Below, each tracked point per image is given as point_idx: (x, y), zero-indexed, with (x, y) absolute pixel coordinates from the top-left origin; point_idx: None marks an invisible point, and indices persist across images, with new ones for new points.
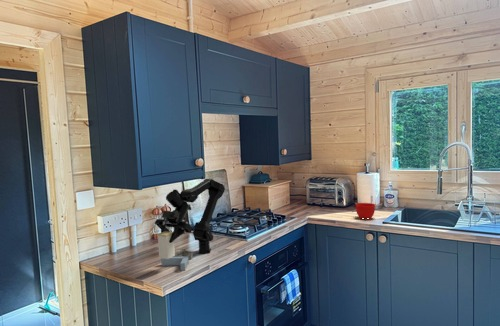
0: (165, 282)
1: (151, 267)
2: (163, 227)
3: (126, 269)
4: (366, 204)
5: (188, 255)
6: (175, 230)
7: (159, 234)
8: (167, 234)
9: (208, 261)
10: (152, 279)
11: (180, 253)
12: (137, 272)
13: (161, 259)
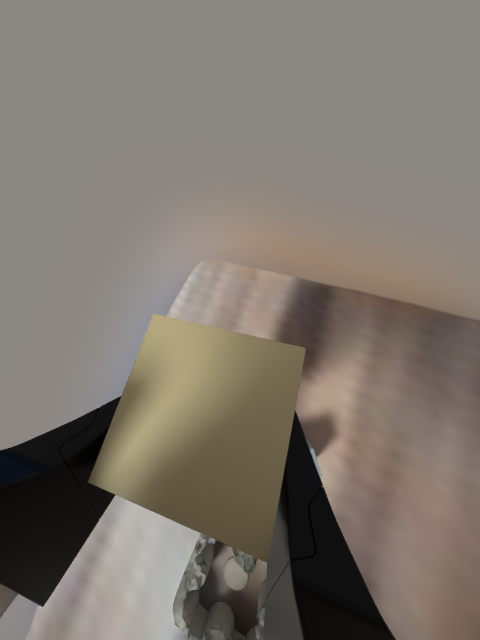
0: (203, 278)
1: (344, 408)
2: (306, 633)
3: (452, 363)
4: None
5: (190, 560)
6: (17, 458)
7: (265, 340)
8: (148, 347)
9: (101, 534)
10: (260, 290)
11: (261, 616)
12: (366, 339)
13: (311, 447)
